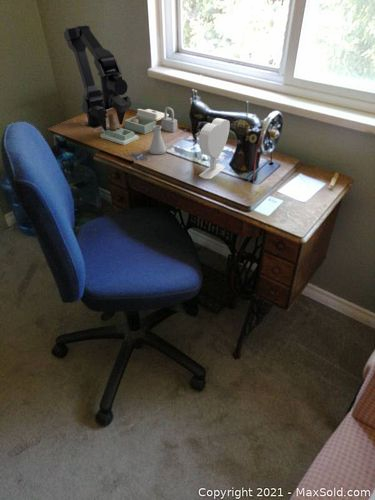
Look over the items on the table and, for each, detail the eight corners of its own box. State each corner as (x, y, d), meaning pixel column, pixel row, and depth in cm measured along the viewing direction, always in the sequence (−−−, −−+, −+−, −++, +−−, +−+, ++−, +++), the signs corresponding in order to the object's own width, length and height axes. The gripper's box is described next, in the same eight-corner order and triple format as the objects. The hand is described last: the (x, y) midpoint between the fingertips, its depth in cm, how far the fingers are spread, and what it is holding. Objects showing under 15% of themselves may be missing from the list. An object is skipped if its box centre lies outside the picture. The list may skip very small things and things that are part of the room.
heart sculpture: (216, 161, 143) (219, 114, 132) (228, 164, 141) (232, 117, 130) (195, 177, 133) (197, 127, 122) (208, 181, 131) (210, 130, 120)
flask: (168, 148, 153) (167, 123, 147) (165, 155, 147) (165, 130, 141) (150, 147, 153) (149, 123, 147) (147, 154, 148) (146, 129, 142)
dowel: (108, 133, 161) (106, 114, 156) (114, 131, 163) (112, 112, 158) (114, 135, 160) (111, 116, 155) (119, 133, 162) (117, 114, 157)
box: (125, 128, 170) (124, 120, 167) (137, 123, 175) (136, 115, 172) (144, 134, 164) (144, 126, 162) (156, 129, 169) (156, 121, 167)
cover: (136, 115, 172) (135, 109, 171) (148, 110, 178) (148, 104, 176) (156, 121, 167) (156, 114, 165) (168, 116, 172) (168, 109, 170)
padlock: (178, 130, 168) (178, 107, 162) (172, 133, 166) (172, 110, 160) (166, 126, 172) (165, 104, 165) (160, 129, 169) (159, 106, 163)
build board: (100, 137, 161) (99, 129, 159) (115, 131, 167) (114, 123, 165) (124, 145, 155) (123, 137, 153) (138, 138, 160) (138, 131, 158)
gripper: (105, 98, 141) (110, 138, 150) (139, 87, 152) (142, 125, 162) (85, 93, 146) (91, 132, 155) (119, 82, 158) (123, 119, 167)
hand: (113, 127), depth 160 cm, fingers open, 9 cm apart
